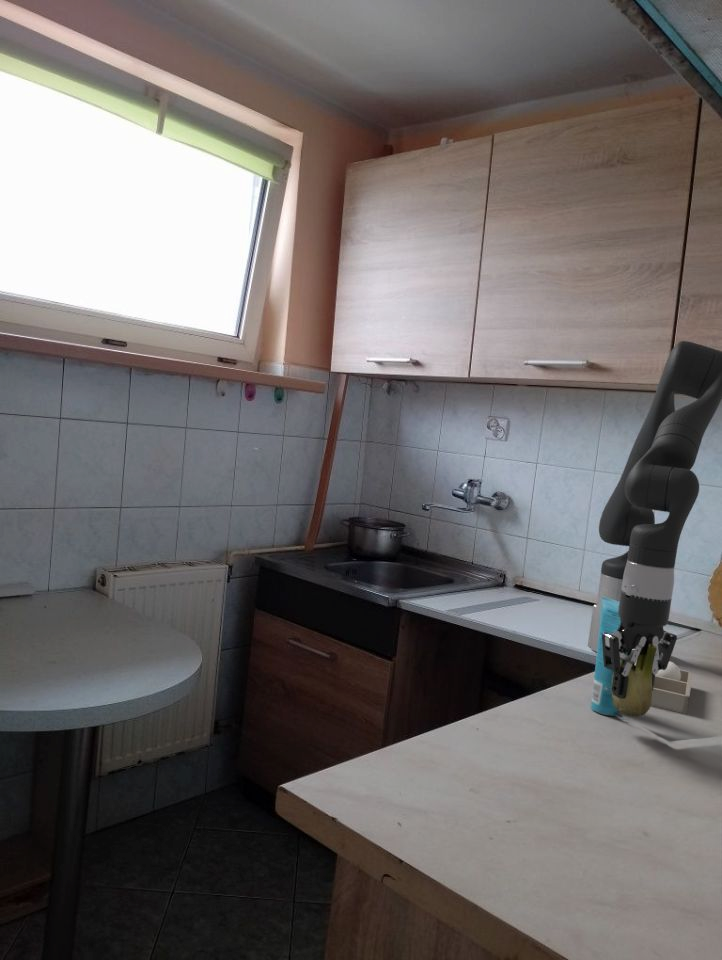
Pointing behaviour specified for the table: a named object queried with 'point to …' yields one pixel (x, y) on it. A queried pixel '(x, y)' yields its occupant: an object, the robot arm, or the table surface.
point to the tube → (603, 676)
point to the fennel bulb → (638, 686)
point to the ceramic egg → (670, 672)
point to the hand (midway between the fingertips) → (631, 695)
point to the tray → (672, 692)
